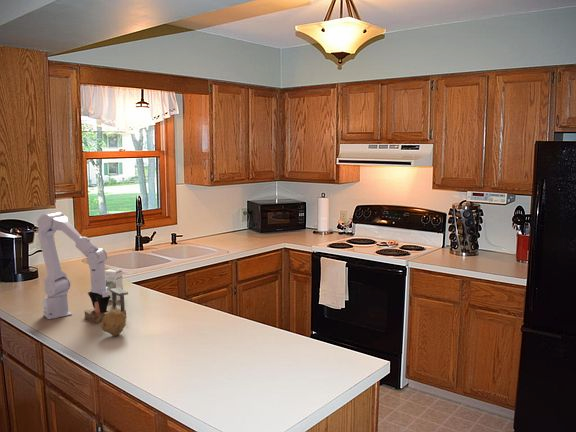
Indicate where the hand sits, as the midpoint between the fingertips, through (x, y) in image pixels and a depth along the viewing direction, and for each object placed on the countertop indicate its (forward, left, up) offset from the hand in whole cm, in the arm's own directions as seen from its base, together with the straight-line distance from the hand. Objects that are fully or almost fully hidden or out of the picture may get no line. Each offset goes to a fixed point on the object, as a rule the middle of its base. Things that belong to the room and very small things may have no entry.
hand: (99, 310), depth 218 cm
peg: (0, 0, -4) cm, 4 cm away
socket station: (+3, 0, -4) cm, 5 cm away
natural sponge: (-4, -24, -4) cm, 24 cm away
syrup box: (+16, +22, -4) cm, 28 cm away
